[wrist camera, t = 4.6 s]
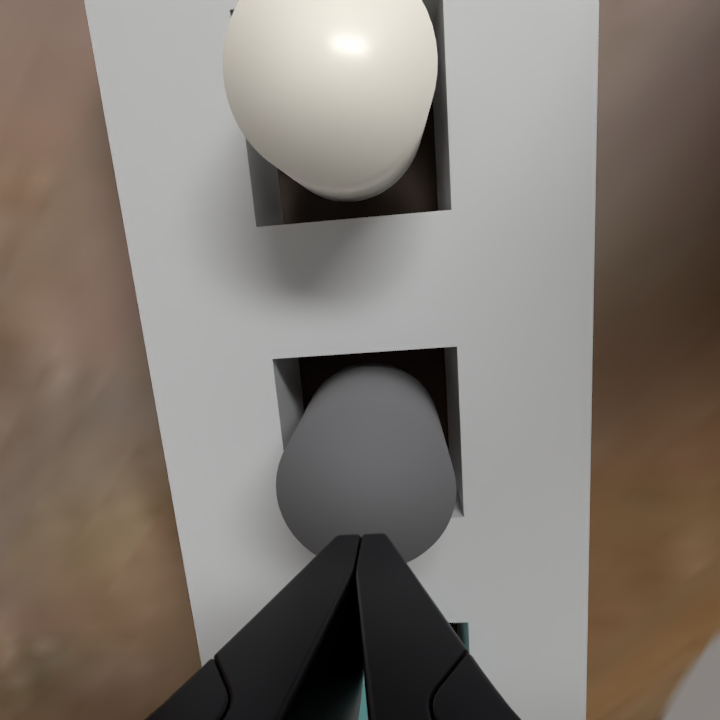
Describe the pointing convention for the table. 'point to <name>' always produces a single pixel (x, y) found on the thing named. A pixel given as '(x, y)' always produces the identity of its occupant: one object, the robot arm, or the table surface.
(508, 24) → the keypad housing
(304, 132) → the key ivory
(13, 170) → the table surface
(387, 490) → the key charcoal
